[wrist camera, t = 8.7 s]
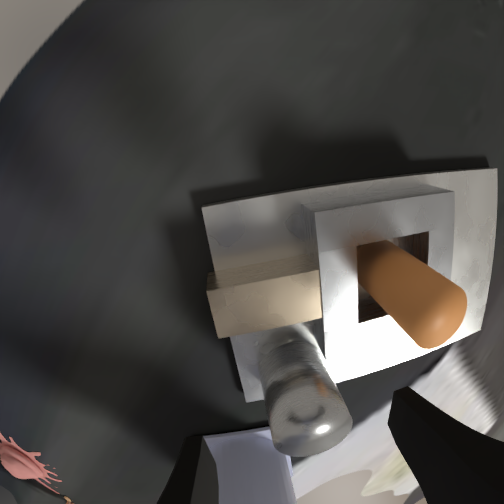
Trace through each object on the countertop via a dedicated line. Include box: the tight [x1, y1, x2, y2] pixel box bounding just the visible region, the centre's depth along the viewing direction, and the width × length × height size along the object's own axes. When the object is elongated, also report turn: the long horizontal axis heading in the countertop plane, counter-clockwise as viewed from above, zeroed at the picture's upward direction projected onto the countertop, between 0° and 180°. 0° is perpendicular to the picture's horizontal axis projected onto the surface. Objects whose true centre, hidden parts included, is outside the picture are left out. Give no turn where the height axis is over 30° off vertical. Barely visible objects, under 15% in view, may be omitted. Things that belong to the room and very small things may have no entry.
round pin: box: [357, 240, 467, 349], centre depth 15 cm, size 3×3×7 cm
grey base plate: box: [202, 167, 497, 457], centre depth 16 cm, size 14×21×7 cm, turn 99°
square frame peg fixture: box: [206, 185, 455, 360], centre depth 17 cm, size 9×14×2 cm, turn 99°
